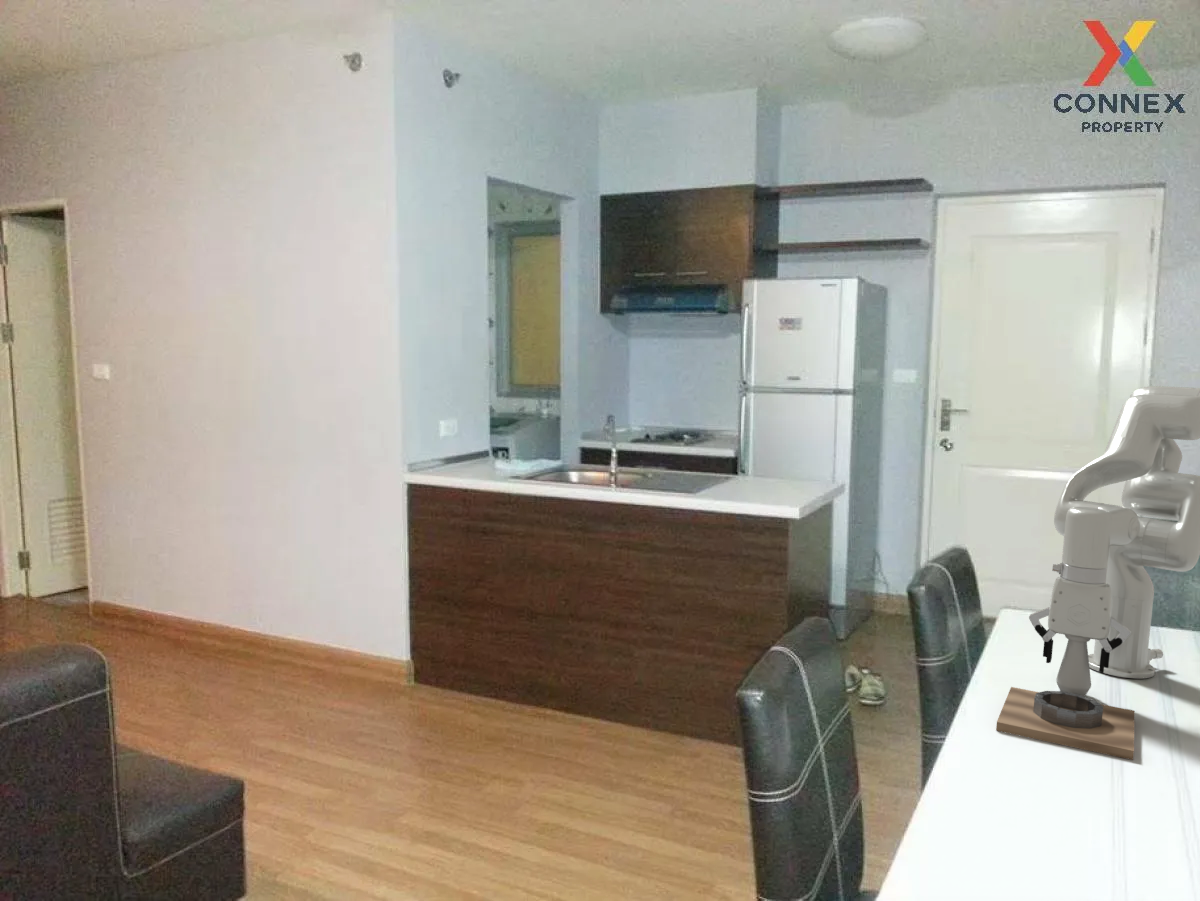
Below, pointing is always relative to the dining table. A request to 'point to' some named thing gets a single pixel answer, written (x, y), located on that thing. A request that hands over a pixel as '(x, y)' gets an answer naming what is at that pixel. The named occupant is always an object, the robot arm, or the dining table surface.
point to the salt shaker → (1075, 667)
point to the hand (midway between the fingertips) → (1074, 665)
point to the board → (1104, 739)
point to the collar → (1083, 717)
